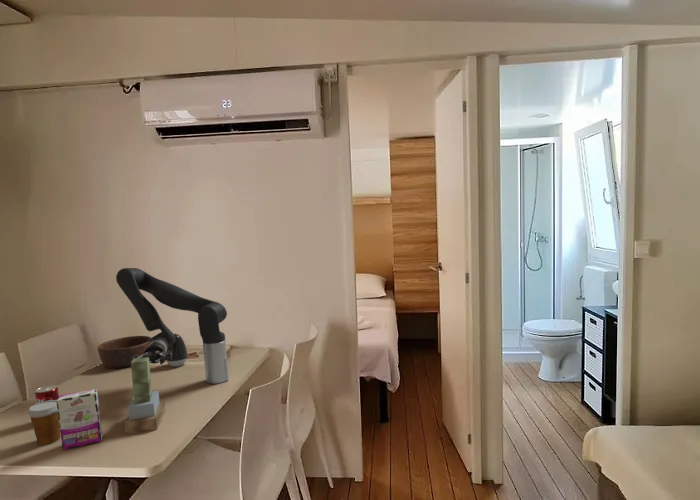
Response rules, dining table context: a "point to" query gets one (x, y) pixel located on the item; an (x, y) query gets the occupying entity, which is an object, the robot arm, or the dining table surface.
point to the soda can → (46, 394)
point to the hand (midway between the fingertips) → (148, 363)
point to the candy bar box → (79, 419)
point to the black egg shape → (178, 352)
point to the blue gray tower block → (144, 407)
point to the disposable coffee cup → (45, 422)
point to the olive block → (141, 379)
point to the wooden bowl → (122, 350)
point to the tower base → (146, 421)
